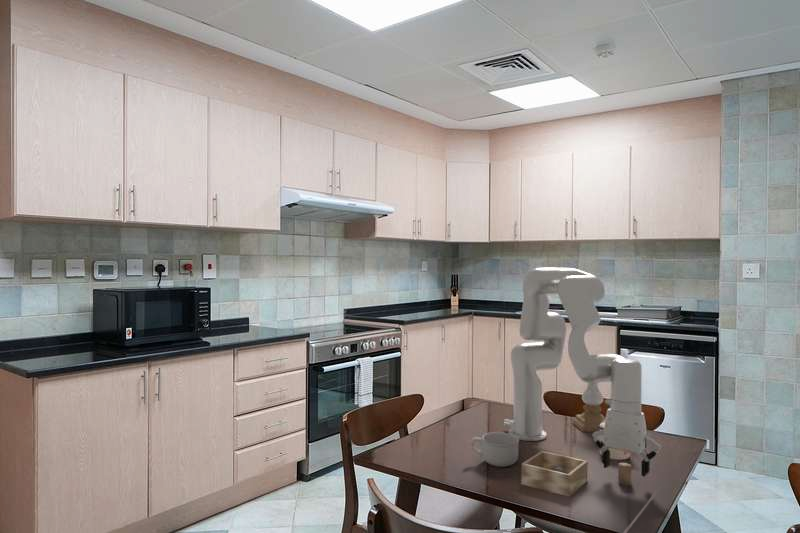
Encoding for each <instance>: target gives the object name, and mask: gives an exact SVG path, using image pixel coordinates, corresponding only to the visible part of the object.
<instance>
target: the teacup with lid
mask: <svg viewBox="0 0 800 533" xmlns="http://www.w3.org/2000/svg"><path fill="white" fill-rule="evenodd" d="M599 428H600V430H603V429H604V428H605V422H602V423H601V424H600V425H599ZM600 440H601V441H602V442H603V443H604V435H602V436H600ZM609 451H610V460H615V461H622V460H623V461H624V460H628V459H630V457H631V456H630V455H631V452H626V451H621V450H616V449H612V448H609ZM599 454H600V456H602V452H601V450H600V449H599Z"/></svg>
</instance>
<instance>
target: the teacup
mask: <svg viewBox="0 0 800 533" xmlns="http://www.w3.org/2000/svg"><path fill="white" fill-rule="evenodd" d="M475 442H479V445H480V447H481V450H479V449H477V448H476V446H475ZM519 442H520V440H519V439H518V438H517V437H516V436H514V435H512V434H509V432H502V431H501V432H500V431H494V432H493V431H492V432H487V433H486V432H485V433H484V434H483V435H482V437H478V436H475V437H472V438H471V439H470V447H471V449H472V451H473V452H475V453H476V454H478V455H479V456H480V457H481V459H483V460H484V461H485V462H486V463H487V464H489V465H490V466H493V467H497V468H499V467H500V468H504V467H510V466H512V465H514V464H515V463H516V462H517V460H518V458H519Z"/></svg>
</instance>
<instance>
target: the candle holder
mask: <svg viewBox="0 0 800 533" xmlns="http://www.w3.org/2000/svg"><path fill="white" fill-rule="evenodd" d="M599 383H600V382H597V383H587V386H586V389H585V390H584V391H583V393H582V394H581V395H582V396H581V399H582V401H583V403H585V404H584V405H583V410H584V412H582V413H581V414H575V417H573V418H572V425H574V426H575V427H577V429H579V430H580V431H581V432H587V433H594V432H597V431H600V428H599V425H600V424H601V423H602V422H605V419H606V416H604V415H603V414H602V413H600V412H602V407H601V404H602V403H603V402H604V396H603V394H602V391H601V390H600V389H599V387H598V384H599Z"/></svg>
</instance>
